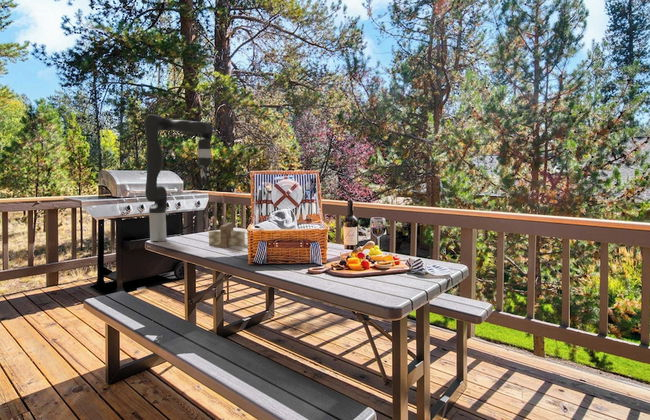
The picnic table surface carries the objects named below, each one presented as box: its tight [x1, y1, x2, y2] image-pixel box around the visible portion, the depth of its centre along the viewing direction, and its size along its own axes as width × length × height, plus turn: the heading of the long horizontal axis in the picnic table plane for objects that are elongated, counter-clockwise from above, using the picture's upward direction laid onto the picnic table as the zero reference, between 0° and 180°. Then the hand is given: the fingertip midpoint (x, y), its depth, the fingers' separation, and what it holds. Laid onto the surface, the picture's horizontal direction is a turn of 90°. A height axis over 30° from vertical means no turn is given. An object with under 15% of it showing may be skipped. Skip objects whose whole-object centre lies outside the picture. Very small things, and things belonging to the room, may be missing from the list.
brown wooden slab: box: [219, 221, 234, 249], centre depth 241 cm, size 18×3×12 cm, turn 0°
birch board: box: [208, 230, 246, 246], centre depth 241 cm, size 20×2×8 cm, turn 89°
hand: (205, 185), depth 246 cm, fingers open, 8 cm apart
